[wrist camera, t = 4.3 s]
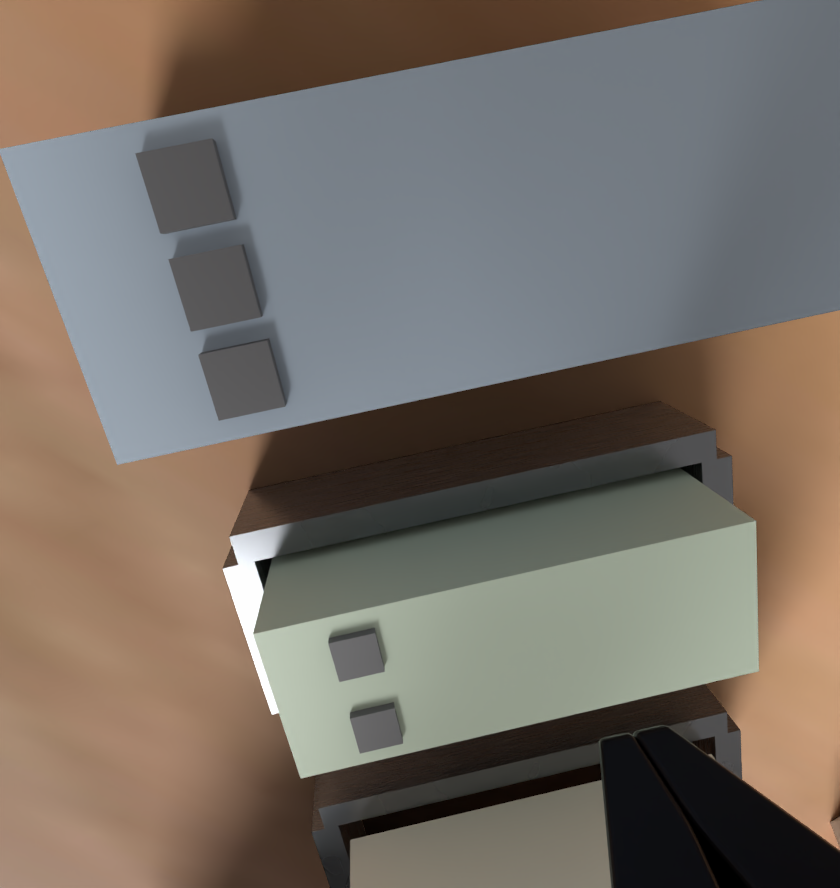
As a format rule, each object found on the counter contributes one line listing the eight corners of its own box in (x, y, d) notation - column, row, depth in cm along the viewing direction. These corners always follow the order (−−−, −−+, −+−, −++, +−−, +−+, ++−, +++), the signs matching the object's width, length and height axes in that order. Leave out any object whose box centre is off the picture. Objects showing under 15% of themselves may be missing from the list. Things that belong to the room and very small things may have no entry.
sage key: (314, 635, 20) (300, 785, 14) (281, 522, 18) (250, 639, 13) (653, 559, 20) (764, 677, 15) (643, 442, 19) (761, 525, 13)
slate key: (206, 380, 14) (111, 469, 8) (147, 187, 12) (-12, 146, 7) (686, 279, 14) (892, 301, 9) (677, 82, 13) (910, -33, 7)
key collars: (352, 865, 23) (352, 953, 20) (129, 160, 15) (78, 141, 12) (697, 783, 23) (744, 857, 21) (651, 57, 16) (718, 16, 13)
